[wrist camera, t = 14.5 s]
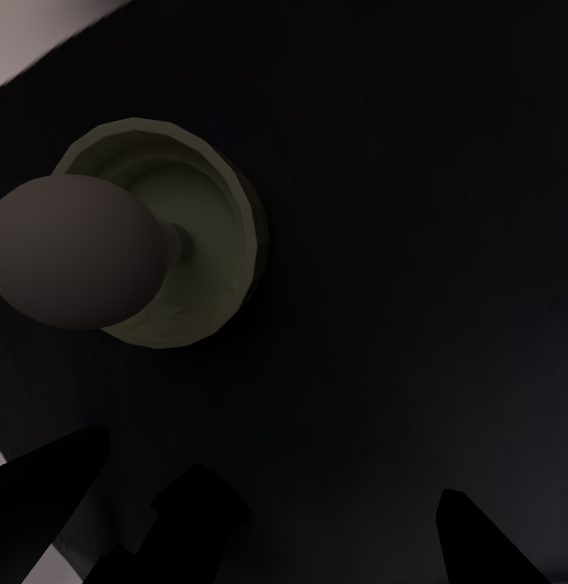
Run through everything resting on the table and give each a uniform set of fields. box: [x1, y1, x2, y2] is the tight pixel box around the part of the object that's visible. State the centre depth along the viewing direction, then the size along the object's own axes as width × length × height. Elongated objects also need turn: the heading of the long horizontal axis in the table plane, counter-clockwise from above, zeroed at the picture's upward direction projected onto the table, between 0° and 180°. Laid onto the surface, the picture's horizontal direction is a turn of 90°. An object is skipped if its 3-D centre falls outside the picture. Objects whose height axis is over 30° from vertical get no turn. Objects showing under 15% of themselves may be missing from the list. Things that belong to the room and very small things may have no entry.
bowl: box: [51, 117, 270, 349], centre depth 18 cm, size 12×12×4 cm
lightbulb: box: [0, 174, 192, 330], centre depth 14 cm, size 6×6×11 cm
